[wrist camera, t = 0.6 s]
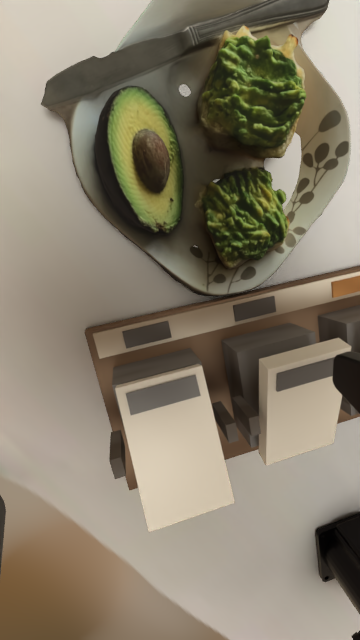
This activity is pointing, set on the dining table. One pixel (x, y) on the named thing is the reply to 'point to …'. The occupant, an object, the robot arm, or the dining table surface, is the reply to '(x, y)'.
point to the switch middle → (298, 400)
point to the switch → (174, 446)
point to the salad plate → (206, 136)
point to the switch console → (225, 350)
